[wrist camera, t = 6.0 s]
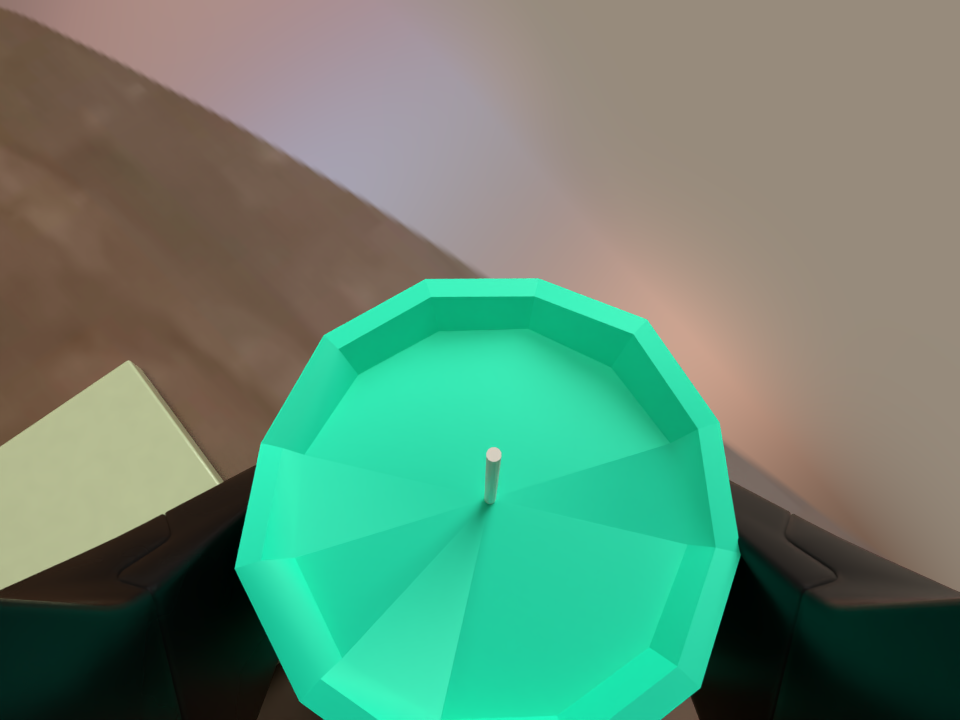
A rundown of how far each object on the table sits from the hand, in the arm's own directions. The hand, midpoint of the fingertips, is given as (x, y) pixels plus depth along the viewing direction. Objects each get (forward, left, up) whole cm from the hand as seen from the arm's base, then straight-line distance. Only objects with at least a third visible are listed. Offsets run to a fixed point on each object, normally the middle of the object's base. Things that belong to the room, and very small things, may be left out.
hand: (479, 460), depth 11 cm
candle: (-1, +1, -7) cm, 7 cm away
